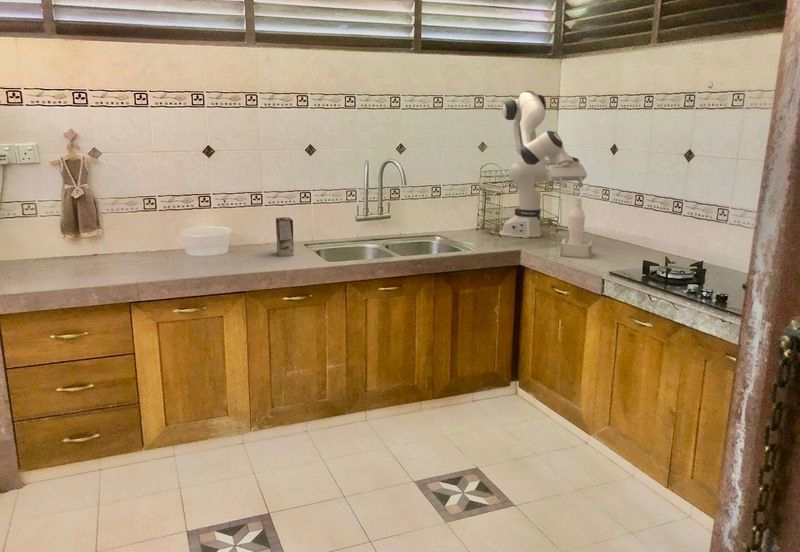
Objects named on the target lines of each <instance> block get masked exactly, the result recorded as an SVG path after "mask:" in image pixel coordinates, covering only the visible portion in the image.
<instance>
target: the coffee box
mask: <svg viewBox="0 0 800 552" xmlns="http://www.w3.org/2000/svg"><path fill="white" fill-rule="evenodd" d="M275 231H276V232H275V233H276V252H277V254H278V255H279V257H288V256H294V253H295V251H294V249H295V248H294V220H293V219H292V218H291V217H288V216H287V217H285V216H284V217H275Z"/></svg>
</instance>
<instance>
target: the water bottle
mask: <svg viewBox="0 0 800 552" xmlns="http://www.w3.org/2000/svg"><path fill="white" fill-rule="evenodd" d="M582 205H583V203H582V198H580V197H578V198H577V197H576V198H574V201H573V207H572V209H571V210H570V212H569V213H568V214H569V215H568V227H567V230H568V234H569V238H568V239H569V242H568V244H581V245H582V240H583V233H584V231H585V222H586V221H585V219H586V215H585V212H584V210H583V208H582Z"/></svg>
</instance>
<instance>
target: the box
mask: <svg viewBox="0 0 800 552" xmlns="http://www.w3.org/2000/svg"><path fill="white" fill-rule="evenodd" d="M568 242H569V238H566V237H565V238H563V239H562V241H561V243H560V253H559V255H560V257H562V256H566V257H565V258H574V257H577V258H578V259H587V258H589V259H591V256H592V253H593V252H592V251H593V240H592V239H582V245H581V244H568ZM577 258H576V259H577ZM589 259H588V260H589Z"/></svg>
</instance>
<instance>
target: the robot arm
mask: <svg viewBox="0 0 800 552" xmlns="http://www.w3.org/2000/svg"><path fill="white" fill-rule="evenodd" d="M546 109H547V102H546V99H545V97H544V96H543V95H542V94H537V93H535V91H533V90H525V91H523V92H522V93H521V94H519V97H515V98H510V99H507V100H505V101H504V102H503V104H502V114H503V117H504V118H505V120H507V121H513V137H514V143H515V148H516V152H517V154H518V155H519V156H521V159H522V160H521V161H517V162H514V163H513V164H511V166H510V167H509V177H510V179H511V181H513V183H515V185H516V188H517V190H518V191H517V192H518V207H516V208H514V215H513V216H511V217H510V218H508V219H507V220H506V221H505V222H504V223H503V227H502V229H501V230H499V231H500V233H499V232H498V233H499V234H500V235H499V234H498V235H499V236H503V237H512V238H513V237H514V238H520V237H522V238H523V239H529V237H530V238H538V237H541V236H542V232H541V225H540V223H541V221H540V220H541V217H542V216H541V214H542V213H541V212H542V210H541V196H542V195H541V193H540V191H538V190H537V189H536V188H535V183H542V182H546V181H550V182H557V184H559V185H560V186H561V187H562V188H563V189H564V188H565V189H566V188H567V186H568V185H567V182H573V181H574V182H575V181H576V182H577V186H578V188H583V186H584V183H583V181H584V180H585V179H586V178H587V176H588V173H587V170H586V169H585V167H584V166H583V164H582V163H581V160H580V158H578V157H574V156H572V155H569V154H568V152H566V151H565V147H564V145H563V144H564V143H563V141H562V139H561V137H560V136H559V134H558V133H557V132H556V131H552V130H547V131H545V132H543V133H542V134H540V135H538V137H537V133H536V132H537V131H536V129H537V128H538V127H539V126H540V125H541V124H542V123H543V121H544V119H545V117H546ZM546 158H548V160H549V161H548V160H547V159H546Z"/></svg>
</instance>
